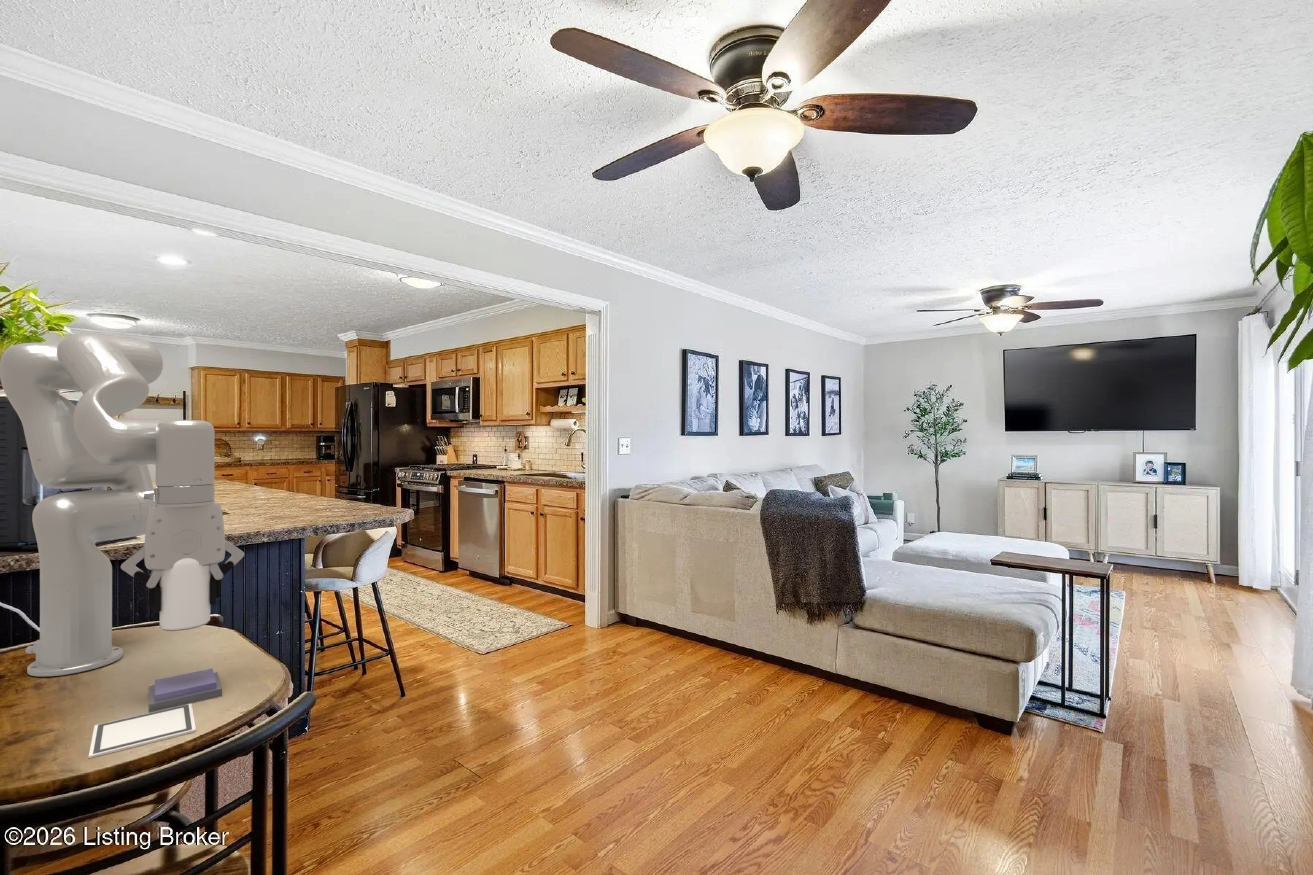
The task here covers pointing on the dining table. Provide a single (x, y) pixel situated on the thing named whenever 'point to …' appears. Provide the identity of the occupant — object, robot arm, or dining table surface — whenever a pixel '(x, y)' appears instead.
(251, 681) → the dining table surface
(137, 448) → the robot arm
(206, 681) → the ink pad
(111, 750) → the marked card
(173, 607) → the can
